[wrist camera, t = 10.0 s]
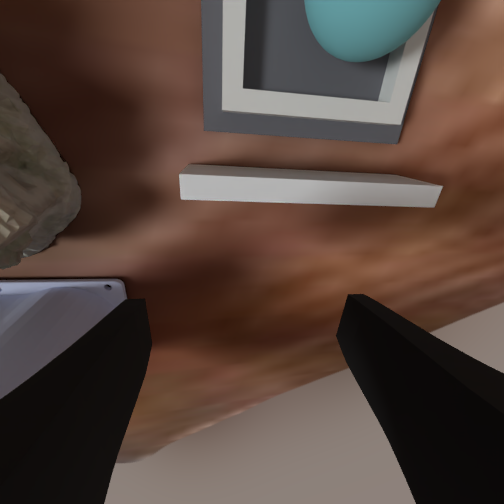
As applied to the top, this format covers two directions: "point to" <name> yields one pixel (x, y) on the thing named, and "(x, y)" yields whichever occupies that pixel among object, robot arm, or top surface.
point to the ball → (365, 25)
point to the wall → (304, 186)
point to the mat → (299, 76)
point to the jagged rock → (30, 183)
